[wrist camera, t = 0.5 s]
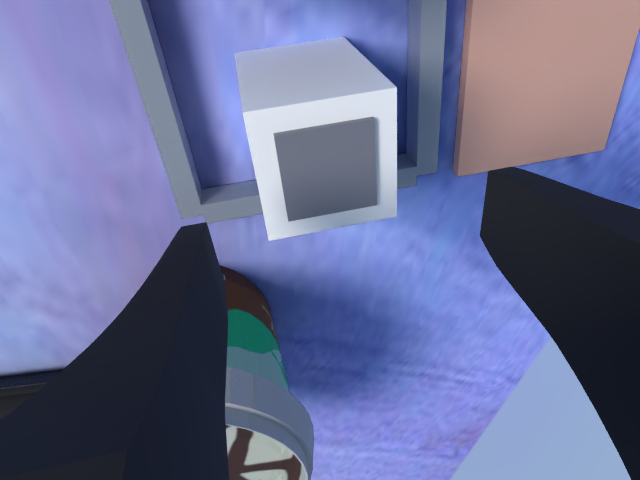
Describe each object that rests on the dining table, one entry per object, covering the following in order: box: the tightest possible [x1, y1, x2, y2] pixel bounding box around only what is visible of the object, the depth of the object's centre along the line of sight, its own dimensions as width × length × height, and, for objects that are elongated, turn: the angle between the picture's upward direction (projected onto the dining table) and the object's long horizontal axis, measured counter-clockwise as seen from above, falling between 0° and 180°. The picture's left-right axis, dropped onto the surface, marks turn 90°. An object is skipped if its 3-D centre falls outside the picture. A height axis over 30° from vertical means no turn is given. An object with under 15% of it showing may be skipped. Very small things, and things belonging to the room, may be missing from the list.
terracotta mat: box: [453, 0, 640, 177], centre depth 21 cm, size 8×10×1 cm
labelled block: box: [235, 37, 397, 241], centre depth 17 cm, size 4×4×7 cm
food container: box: [220, 266, 314, 480], centre depth 23 cm, size 12×6×10 cm, turn 6°
